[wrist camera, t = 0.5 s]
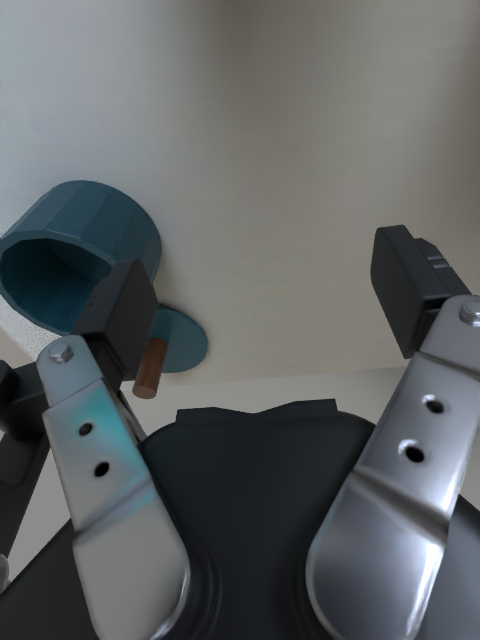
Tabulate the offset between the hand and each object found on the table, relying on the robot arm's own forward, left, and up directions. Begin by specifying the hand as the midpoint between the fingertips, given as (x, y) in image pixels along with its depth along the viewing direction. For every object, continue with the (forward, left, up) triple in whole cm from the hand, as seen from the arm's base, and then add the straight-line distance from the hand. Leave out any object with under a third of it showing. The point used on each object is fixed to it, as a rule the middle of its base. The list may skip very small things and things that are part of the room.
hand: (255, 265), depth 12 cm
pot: (+9, -16, -18) cm, 25 cm away
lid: (+23, -14, -17) cm, 32 cm away
